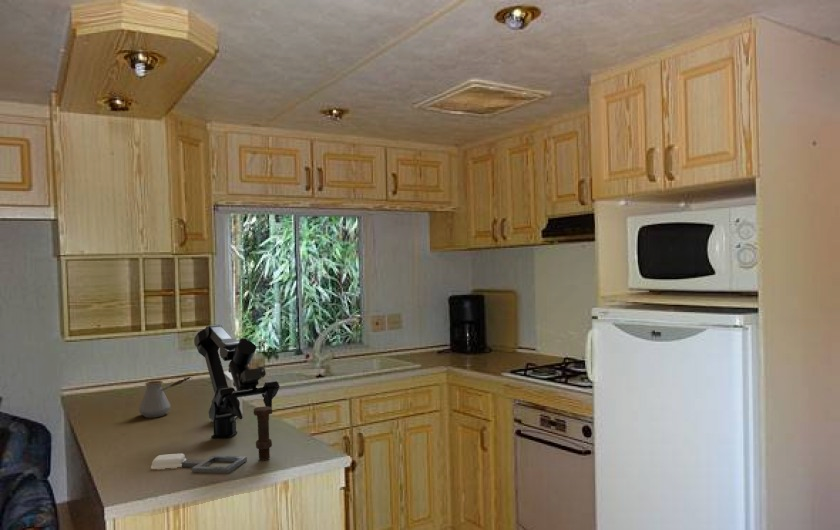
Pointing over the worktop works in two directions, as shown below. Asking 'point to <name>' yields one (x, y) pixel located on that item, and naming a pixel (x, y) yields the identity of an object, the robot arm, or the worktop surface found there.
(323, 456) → the worktop surface
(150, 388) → the coffee pot
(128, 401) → the worktop surface
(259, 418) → the bolt
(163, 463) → the soap
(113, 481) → the worktop surface
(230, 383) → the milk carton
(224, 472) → the socket plate
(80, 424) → the worktop surface
